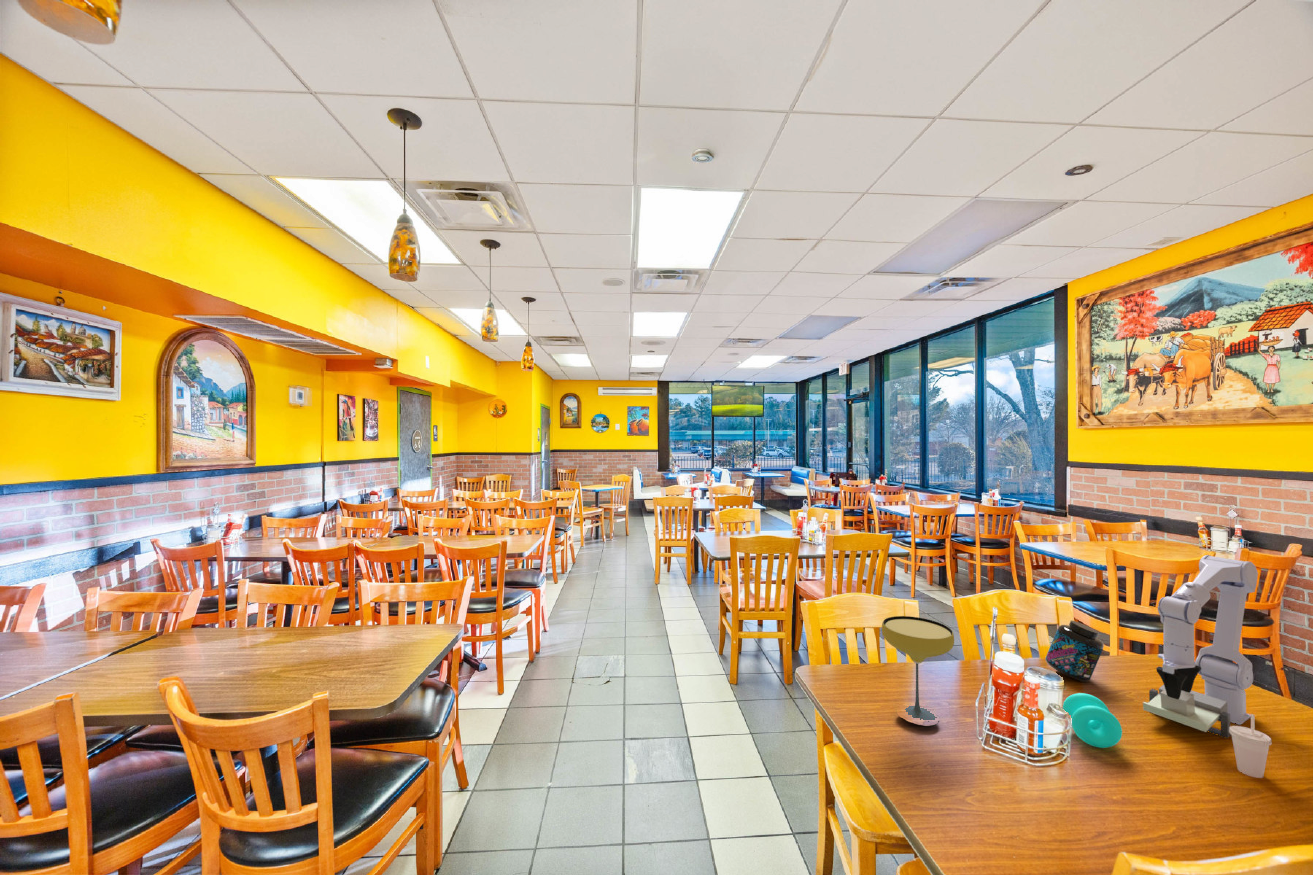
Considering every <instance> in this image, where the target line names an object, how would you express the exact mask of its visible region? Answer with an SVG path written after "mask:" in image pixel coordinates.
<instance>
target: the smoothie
mask: <svg viewBox="0 0 1313 875" xmlns="http://www.w3.org/2000/svg"><path fill="white" fill-rule="evenodd" d="M1250 715H1251V717H1250V728H1249V727H1246V726H1241V725H1230V727H1229V732H1230V734H1231V740H1232V744H1233V745H1232V746H1233V750H1234V751H1233V752H1234V755H1235V761H1236V762H1235V763H1236V768H1237V770H1238V772H1240V773H1241V772H1242V774H1244V775H1245V776H1248V777H1252V778H1257V779H1258V778H1259V779H1262V778H1264V774H1265V771H1266V770H1265V769H1266V765H1267V758H1268V754H1269V750H1270V749H1269V748H1270V746H1271V745H1272V744H1273V742H1272V738H1271V737H1270V736H1269V735H1267V734H1266V733H1264V732H1262V731H1259V730H1257V729H1255V728H1256V727H1255V726H1256V725H1255V723H1256V722H1255V719H1256V718H1255V714H1253V713H1250Z"/></svg>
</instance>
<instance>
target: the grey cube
mask: <svg viewBox="0 0 1313 875" xmlns="http://www.w3.org/2000/svg"><path fill="white" fill-rule="evenodd" d="M1161 708H1164V709H1167V710H1170V711H1172V712H1175V713H1178V714H1181V715H1184V716H1187V717H1191V716H1192V715H1193V714H1194V713H1195V704H1194V694H1191V693H1188V692H1184V691H1181V695H1180V698H1179V699H1174V698H1171V697H1168V696H1167V693H1166V690H1165V689H1164V690H1163V691H1162V692H1161Z"/></svg>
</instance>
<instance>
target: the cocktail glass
mask: <svg viewBox="0 0 1313 875" xmlns="http://www.w3.org/2000/svg"><path fill="white" fill-rule="evenodd" d="M881 634H882V637H883V638H884V640H885V641H886V642H887V643H888V644H889V645H891V646H892V647H893V648H895V649H897V650H898V651H901V652H903V654H906V655H907V656H909V658H910V659H911V661H913V662H914V664H915V702H914V705H915V706H909V707H908V708H906V709H905V710H906V712H908V715H912V717H913V718H920V720H921V719H923V720H935V718H937V717H935V716H934V714H932V713H930V711H931V710H930V711H927V709H928V708H926V709H924V708H925V707H923V708H920V707H921V706H920V699H919V698H920V696H919V690H920V688H919V665H920V664H921V663H923V661H925V660H926V659H928V658H933V657H934V658H935V657H939V656H941V655H942V656H943V655H944V654H947V653H948V652H950V651H951V650H952V649H953V648H954V645H955V635H954V631H953V630H952V629H951V628H950V627H949V626H947V625H945V624H943V623H941V622H938V621H935V620H932V619H928V618H923V617H919V616H918V617H917V616H910V615H909V616H907V615H898V616H897V615H895V616H891V617H886V618H885V619H883V621H882V624H881ZM928 722H929V721H928Z"/></svg>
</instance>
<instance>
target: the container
mask: <svg viewBox="0 0 1313 875" xmlns="http://www.w3.org/2000/svg"><path fill="white" fill-rule="evenodd" d="M1099 634H1100V632H1099V630H1098V631H1097V630H1096V629H1094V628H1093V627H1090V626H1088V625H1086V624H1084V623H1082V622H1079V621H1075V620H1070V621H1069V624H1061V625H1059V626H1058V627H1057V629H1056V632H1055V633H1054V636H1053V639H1052V642H1051V643H1050V646H1049V648H1048V651H1047V654H1046V656H1045V662H1046V663H1047V665H1049V666H1050V667H1051V668H1052V669H1054V670H1056V671H1057V672H1059V673H1061V674H1063V675H1065V676H1067V677H1069V678H1072V679H1074V680H1077V681H1079V682H1088V681H1091V679H1092V676H1093V673H1094V671H1095V669H1096V667H1097V665H1098V662H1099V660H1100V657H1101V655H1102V652H1103V650H1104V642H1102V640H1101V639H1099V638H1098V637H1099Z"/></svg>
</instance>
